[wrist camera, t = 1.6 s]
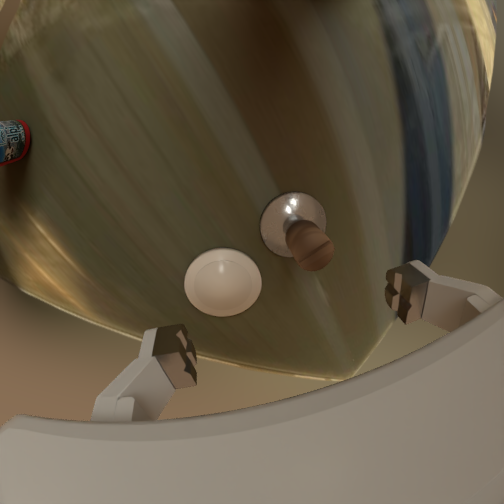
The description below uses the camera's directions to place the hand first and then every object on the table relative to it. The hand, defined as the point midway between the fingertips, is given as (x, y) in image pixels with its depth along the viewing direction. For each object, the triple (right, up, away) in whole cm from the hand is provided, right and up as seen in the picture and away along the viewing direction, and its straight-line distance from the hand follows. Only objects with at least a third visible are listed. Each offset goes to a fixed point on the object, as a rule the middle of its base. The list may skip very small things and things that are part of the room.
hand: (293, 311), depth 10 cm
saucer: (-6, -3, +33) cm, 34 cm away
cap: (+5, +4, +26) cm, 27 cm away
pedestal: (+5, +6, +31) cm, 32 cm away
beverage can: (-38, +20, +18) cm, 47 cm away
